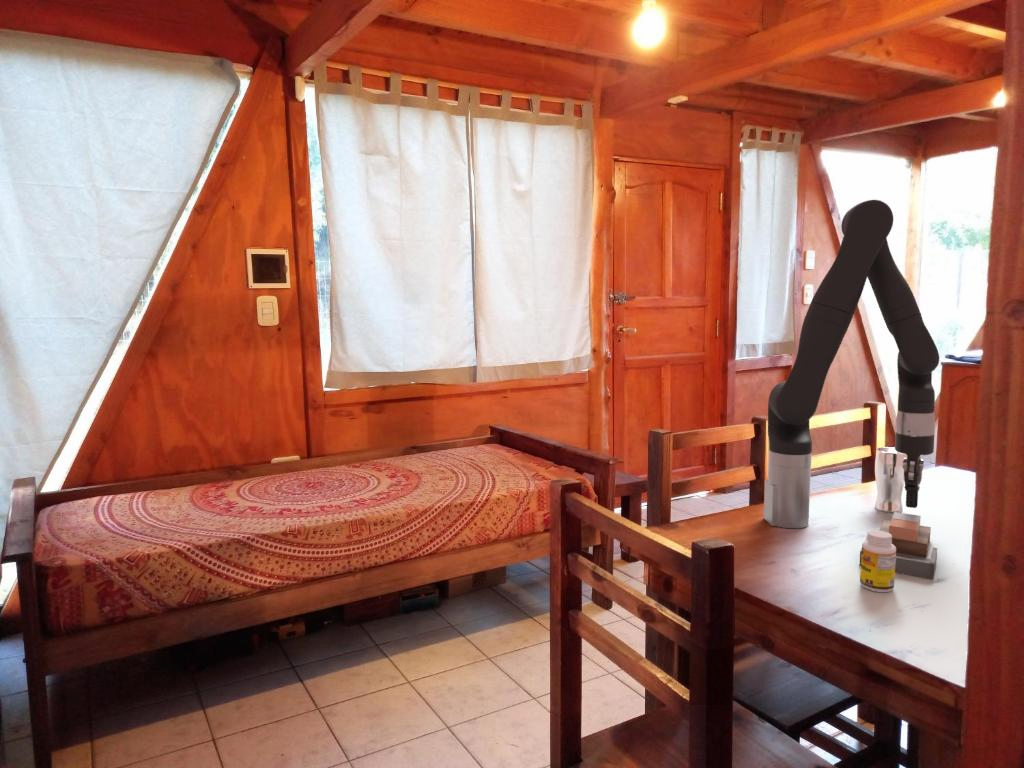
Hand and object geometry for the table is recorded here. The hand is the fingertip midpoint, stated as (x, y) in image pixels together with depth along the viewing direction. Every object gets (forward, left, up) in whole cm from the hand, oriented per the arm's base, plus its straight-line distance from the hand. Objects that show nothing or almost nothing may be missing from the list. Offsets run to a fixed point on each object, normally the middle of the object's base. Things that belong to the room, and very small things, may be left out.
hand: (911, 506), depth 157 cm
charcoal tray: (-12, -20, -6) cm, 24 cm away
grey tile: (-5, -7, -3) cm, 9 cm away
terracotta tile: (-8, -12, -3) cm, 15 cm away
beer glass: (+2, +15, -6) cm, 16 cm away
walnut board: (-6, -9, -6) cm, 13 cm away
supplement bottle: (-22, -31, -6) cm, 38 cm away
